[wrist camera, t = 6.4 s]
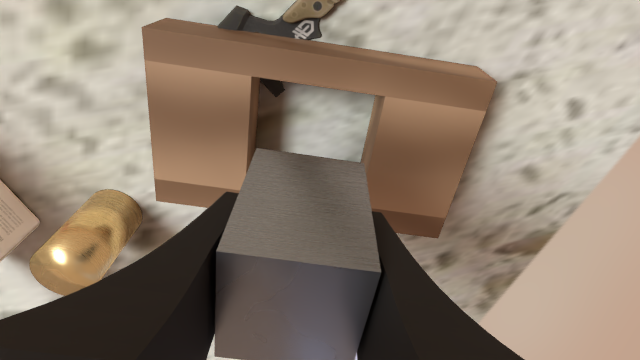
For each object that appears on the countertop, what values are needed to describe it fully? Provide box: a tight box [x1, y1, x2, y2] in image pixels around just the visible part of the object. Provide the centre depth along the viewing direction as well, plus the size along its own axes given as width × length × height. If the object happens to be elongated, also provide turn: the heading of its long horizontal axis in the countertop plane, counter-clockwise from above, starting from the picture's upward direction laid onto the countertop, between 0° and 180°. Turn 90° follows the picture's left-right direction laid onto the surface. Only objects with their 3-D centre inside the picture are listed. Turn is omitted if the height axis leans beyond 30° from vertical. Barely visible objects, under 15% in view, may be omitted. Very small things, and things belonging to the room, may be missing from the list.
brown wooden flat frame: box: [142, 18, 497, 238], centre depth 18 cm, size 8×14×2 cm, turn 82°
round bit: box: [30, 189, 142, 296], centre depth 20 cm, size 3×3×5 cm
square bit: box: [215, 148, 381, 360], centre depth 11 cm, size 4×4×5 cm
